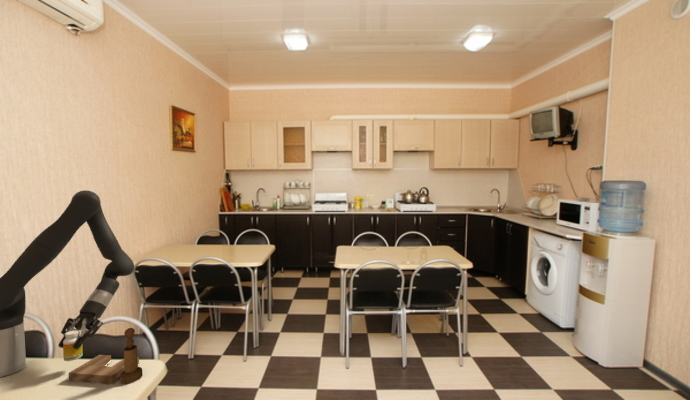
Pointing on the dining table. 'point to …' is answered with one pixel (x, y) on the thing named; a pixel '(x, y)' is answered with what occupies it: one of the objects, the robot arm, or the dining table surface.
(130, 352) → the mortar and pestle
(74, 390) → the dining table surface
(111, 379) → the notched board
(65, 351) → the supplement bottle
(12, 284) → the robot arm
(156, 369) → the dining table surface
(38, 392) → the dining table surface
